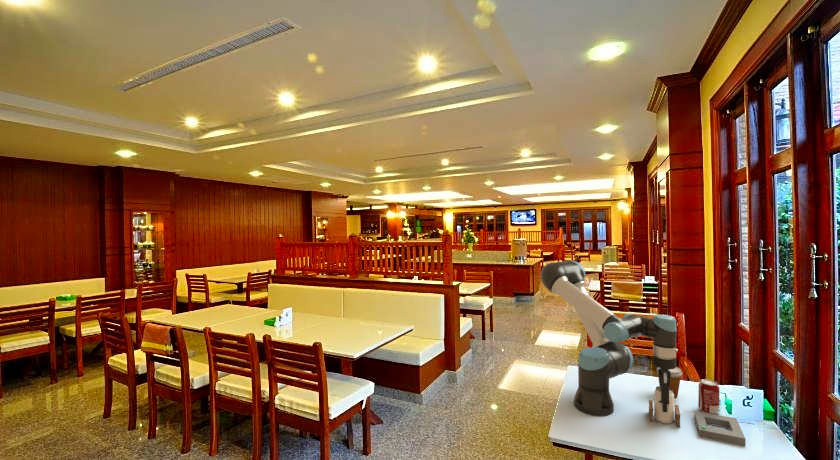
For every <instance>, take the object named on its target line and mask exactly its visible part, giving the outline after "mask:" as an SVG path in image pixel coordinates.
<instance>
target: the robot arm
mask: <svg viewBox="0 0 840 460" xmlns="http://www.w3.org/2000/svg"><path fill="white" fill-rule="evenodd" d="M585 278H586V270H585V269H584V267H583V265H582V264H580V263H579V262H577V260H562V261H557V262H554V261H553V262H550V263H547V264H545V265H544V266H543V267H542V269H541V271H540V280H541V283H542V285H543V286H544V287H545V288H546V289H547V290H548V291H549V292H550V293H551V294H553V295H558V296H559V297H560V298H562V299H563V300H565V301H566V302H567V303H568V304H569V305H571V306H572V307H573V308H574V310H575V312H576V314H577V316H578V318H579V320H580V321H581V324H582V325H583V328H584V330H585V331H586V333H587V336H588V337H589V339H590V341H591V343H592V347H585V348H582V349H581V350H580V351H579V353H578V358H577V363H578V364H577V365H578V366H577V369H578V371H577V373H578V374H577V375H578V381H577V383H578V386H577V389H576V392H575V395H574V397H573V406H574V407H575V408H576V409H577V410H579V411H580V412H582V413H584V414H588V415H590V416H602V417H603V416H609V415H612V414H614V411H615V406H614V402H613V399H612V395H611V393H610V379H612V378H616V377H617V376H618V377H619V376H621V375H623V374H625V373H627V372H628V371H631V369H632V367H633V364H634V356H633V353H632V351H631V350H630V348H629V347H627V346H626V345H624V344H621V342H625V341H627V340H629V339H633V338H637V337H641V336H643V337H647V338H650V339H652V340H653V341H652V343H653V344H652V354H653V355H652V357H653V358H652V360H653V361H652V363H653V366H655V367H656V368H660V369H658V372H657V375H658V374H659V378H658V383H659V382H660V386H661V401H659V402H660V419H664V420H669V385H670V377H671V373H670V371H669V370H670V369H675V368H676V367H677V358H676V356H677V352H679V349H678V348H677V332H678V331H677V330H678V328H677V319H676V318H675V317H674V316H672V315H669V314H655V315H653V317H652V318H651V317H648V316H643V315H638V314H636V313H633V314H632V313H626V314H624V316H622V318H620V317H619V316H617V315H615V314H614V313H613V312H612V311H610V310H609V309H608V308H606V307H604V306H603V305H602V304H601V303H599V302H598V301H596V300H595V299H594V298H593V297H591V296H590V294H589V293H588V290H587V289H586V284H587V282H586V280H585Z"/></svg>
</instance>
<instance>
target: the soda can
mask: <svg viewBox="0 0 840 460" xmlns="http://www.w3.org/2000/svg"><path fill="white" fill-rule="evenodd" d="M697 405H698V407H697V408H698V409H699V411H700V412H705V413H710V414H715V415H718V414H717V412H718V408H719V409H720V387H719V385H718V382H717V381H715V380H712V379H707V378H706V379H705V378H704V379H703V378H702V379H700V382H699V383H698V401H697Z"/></svg>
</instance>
